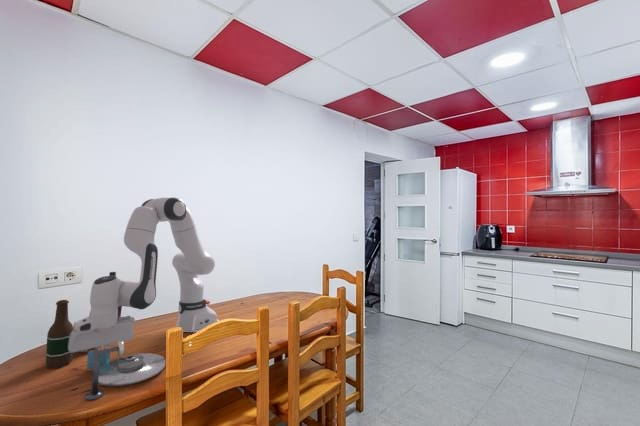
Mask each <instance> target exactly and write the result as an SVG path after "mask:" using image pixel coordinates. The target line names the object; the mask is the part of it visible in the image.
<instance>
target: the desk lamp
mask: <svg viewBox="0 0 640 426" xmlns="http://www.w3.org/2000/svg"><path fill="white" fill-rule="evenodd" d="M124 342H125V341H118V343H116V344H117V346H114V347H109V348H108V349H104V348H103V349H100V348H96V349H94V356H93V369H92V379H91V380H92V382H91V391H90V390H89V391H88V392H87V393H85V395H84V400H85V401H87V402H92V401H96V400H98V399H100V398H102V397H104V395H105V390H104V389H103V388H99V383H98V379H99V359H100V355H101V354H105V353H110V354H111V353H113V352H117V355H118V356H122V355H123V356H124V354H125V343H124Z"/></svg>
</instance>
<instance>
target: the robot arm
mask: <svg viewBox="0 0 640 426" xmlns="http://www.w3.org/2000/svg"><path fill="white" fill-rule="evenodd" d="M160 222H162V223H163V222H168V223H169V225H170V229H171V233H172V237H173V239H174V243H175V246H176V248H178V249H179V250H180V252H177V253H175V255H174V256H173V258H172V261H171V262H172V263H171V264H172V266H173V268H174V269H175V271H176V274H177V277H178V280H179V289H180V290H179V294H180V295H179V301H178V310H177V311H178V316H177V317H178V318H177V322H176V324H175V328H176V327H182V329H183V330H184V332H191V331H192V332H193V333H192V334H195V333H194V332H197V331H199V330H201V329H203V328H204V327H206V326H208V325H209V324H212V323H214V322H217V321H219V320H220V319H218V315H217V312H215V310H213V309H212V308H210V307H208V305H210V304H211V302H210V300H207V299H205V298H204V283H203V281H202V280H201V278H200V276H206V275H209V274H211V273H212V272H213V270H214V268H215V267H216V266H215V265H216V262H215V259H214V257H213V256H211V255H210V254H209V253H208V252H207V250H206V249H205V247H204V246H203V244H202V242H201V240H200V238H199V234H198V231H197V228H196V224H195V221H194V218H193V215H192V214H191V211H190V210H189V208H188V207H187V206H186V203H185V202H184V201H183V199H181V198H178V197H159V198H150V199H147V200H145V201H144V202H143V203H142V204H141V206H137V207H136V208H134V209H133V211H132V213H131V215H130V218H129V220H128V222H127V225H126V227H125V228H126V229H125V232H124V236H123V243H124V245H125V246H126V248H127V249H128V250H129V251H131V252H132V253H134V254H136V255H137V256H139V258H140V260H141V266H140V267H141V269H140V278H139V281H138V282H134V281H127V280H122V279H119V278H118V277H117V275H116V276H109V275H106V276H101V277H98V278H96V279H95V280H94V281H93V283H92V285H91V288H90V289H91V290H90V295H89V303H90V311H89V315H88V316H87V317H83V318H82V319H79V320H77V321H75V322H73V324H72V325H73V328H74V330H73V331H72V332H71V334H70V337H69V342H68V351H69V352H71V353H73V354H74V353H78V352H82V350H87V349H91V348H95V349H96V348H100V350H102V347H104V348H103V350H104V349H109V348H110V345H113V344H118V341H123V342H127V341H132V340H133V338H134V337H135V331H134V330H135V329H134V325H135V321H136V320H135V317H133V316H131V315H127V316H121V317H119V318H118V306H122V307H127V308H128V307H129V308H133V309H138V310H145V309H147V308H148V307H150V306H151V305H152V304H153V303H154V301H155V300H156V298H157V287H156V284H157V283H156V282H157V281H156V280H157V271H158V257H159V253H158V252H159V251H158V247H157V245H156V244H155V234H156V231H157V225H158V223H160ZM184 332H183V333H184Z"/></svg>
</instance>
